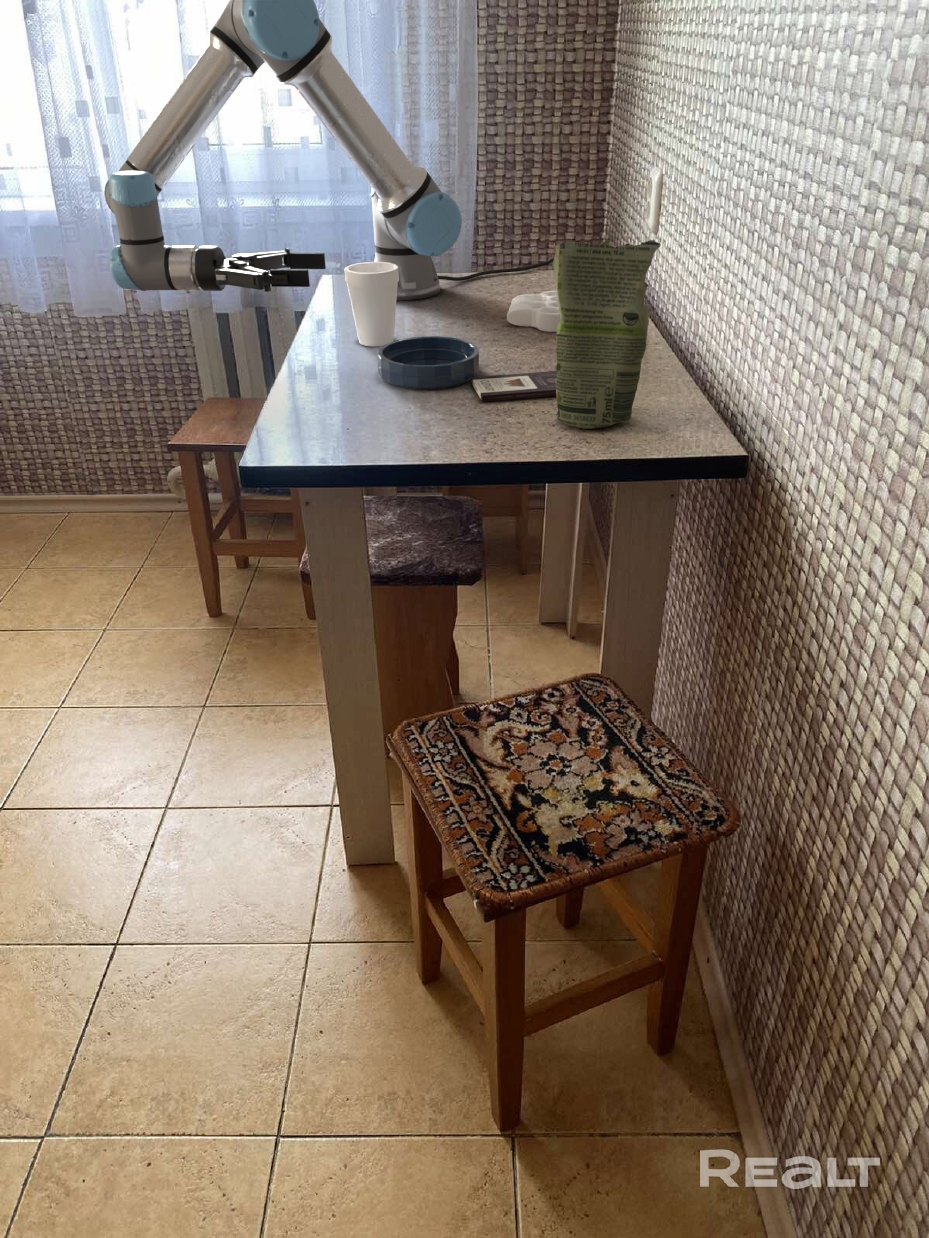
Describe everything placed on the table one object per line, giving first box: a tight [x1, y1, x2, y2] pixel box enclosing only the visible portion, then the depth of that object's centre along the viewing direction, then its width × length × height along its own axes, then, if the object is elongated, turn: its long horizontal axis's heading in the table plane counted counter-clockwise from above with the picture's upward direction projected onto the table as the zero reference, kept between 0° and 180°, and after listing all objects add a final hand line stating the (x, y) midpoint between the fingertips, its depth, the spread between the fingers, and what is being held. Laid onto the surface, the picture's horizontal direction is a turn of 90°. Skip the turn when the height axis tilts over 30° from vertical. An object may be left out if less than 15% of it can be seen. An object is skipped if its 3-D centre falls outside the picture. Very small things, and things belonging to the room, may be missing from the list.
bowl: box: [376, 335, 480, 390], centre depth 155 cm, size 17×17×4 cm
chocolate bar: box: [470, 370, 557, 403], centre depth 149 cm, size 9×1×18 cm
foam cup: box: [344, 261, 399, 347], centre depth 170 cm, size 10×9×13 cm
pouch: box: [551, 237, 661, 430], centre depth 131 cm, size 11×12×25 cm
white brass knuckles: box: [506, 289, 560, 333], centre depth 183 cm, size 3×18×15 cm
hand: (317, 269), depth 167 cm, fingers open, 13 cm apart
